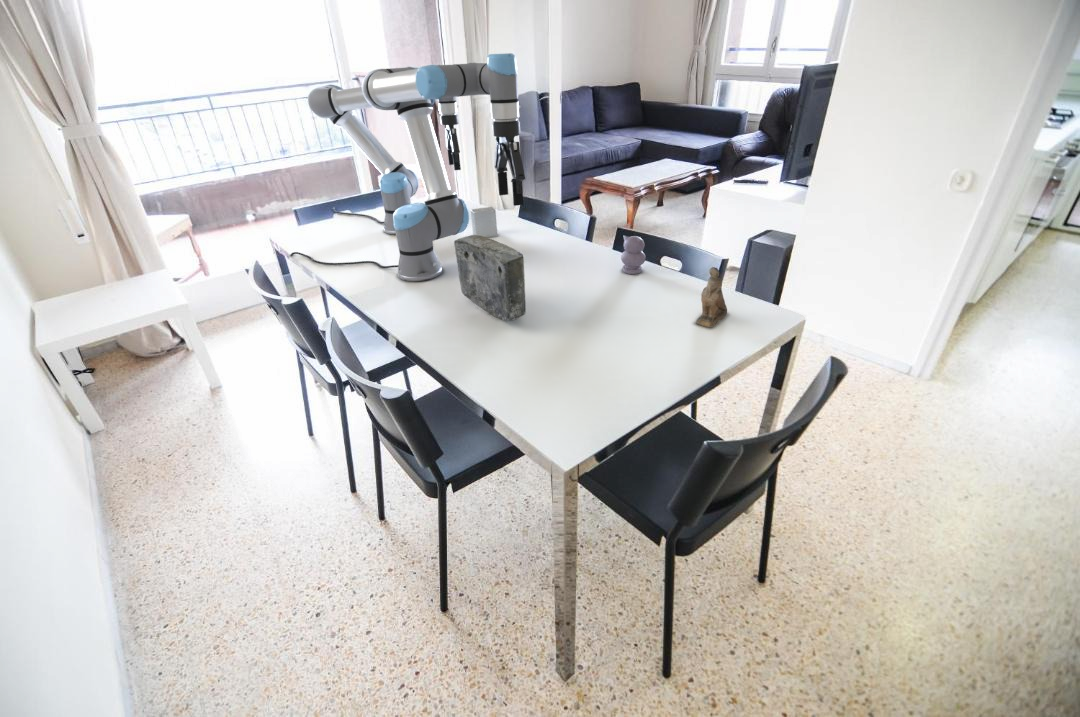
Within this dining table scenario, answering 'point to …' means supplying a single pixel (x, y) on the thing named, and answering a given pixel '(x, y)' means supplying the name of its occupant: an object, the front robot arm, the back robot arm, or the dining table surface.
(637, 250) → the cat figurine
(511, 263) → the concrete block
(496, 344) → the dining table surface
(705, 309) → the worn brown figurine
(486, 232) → the brick
